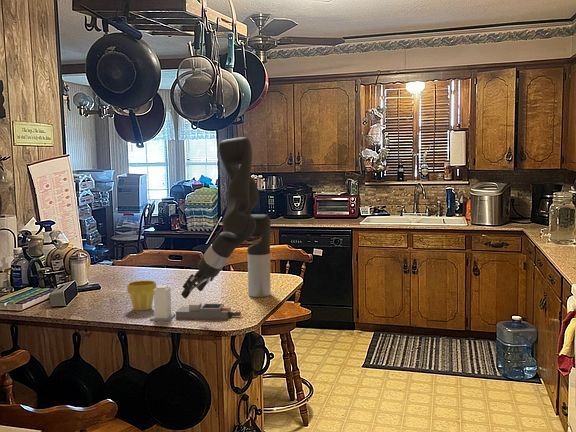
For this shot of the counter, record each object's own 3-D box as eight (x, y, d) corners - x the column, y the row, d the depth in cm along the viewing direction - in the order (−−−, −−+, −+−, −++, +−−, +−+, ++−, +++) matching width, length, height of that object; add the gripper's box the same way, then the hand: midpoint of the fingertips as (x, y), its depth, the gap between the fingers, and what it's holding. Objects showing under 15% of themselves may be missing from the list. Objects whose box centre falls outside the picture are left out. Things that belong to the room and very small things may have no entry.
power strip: (181, 313, 205) (181, 301, 205) (242, 314, 203) (242, 301, 203) (176, 318, 198) (175, 306, 198) (238, 319, 196) (238, 306, 196)
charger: (159, 314, 202) (158, 285, 201) (171, 314, 201) (170, 285, 200) (154, 317, 197) (153, 287, 196) (167, 318, 197) (166, 288, 196)
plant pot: (131, 305, 218) (130, 280, 217) (158, 304, 219) (157, 279, 218) (125, 312, 208) (124, 286, 207) (154, 311, 208) (153, 285, 208)
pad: (156, 315, 203) (156, 313, 203) (175, 315, 202) (175, 313, 202) (149, 320, 196) (149, 318, 196) (169, 320, 195) (169, 319, 195)
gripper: (218, 247, 194) (196, 279, 201) (193, 256, 181) (170, 291, 188) (233, 262, 192) (210, 294, 199) (209, 273, 180) (185, 306, 186)
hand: (191, 292), depth 193 cm, fingers open, 8 cm apart
